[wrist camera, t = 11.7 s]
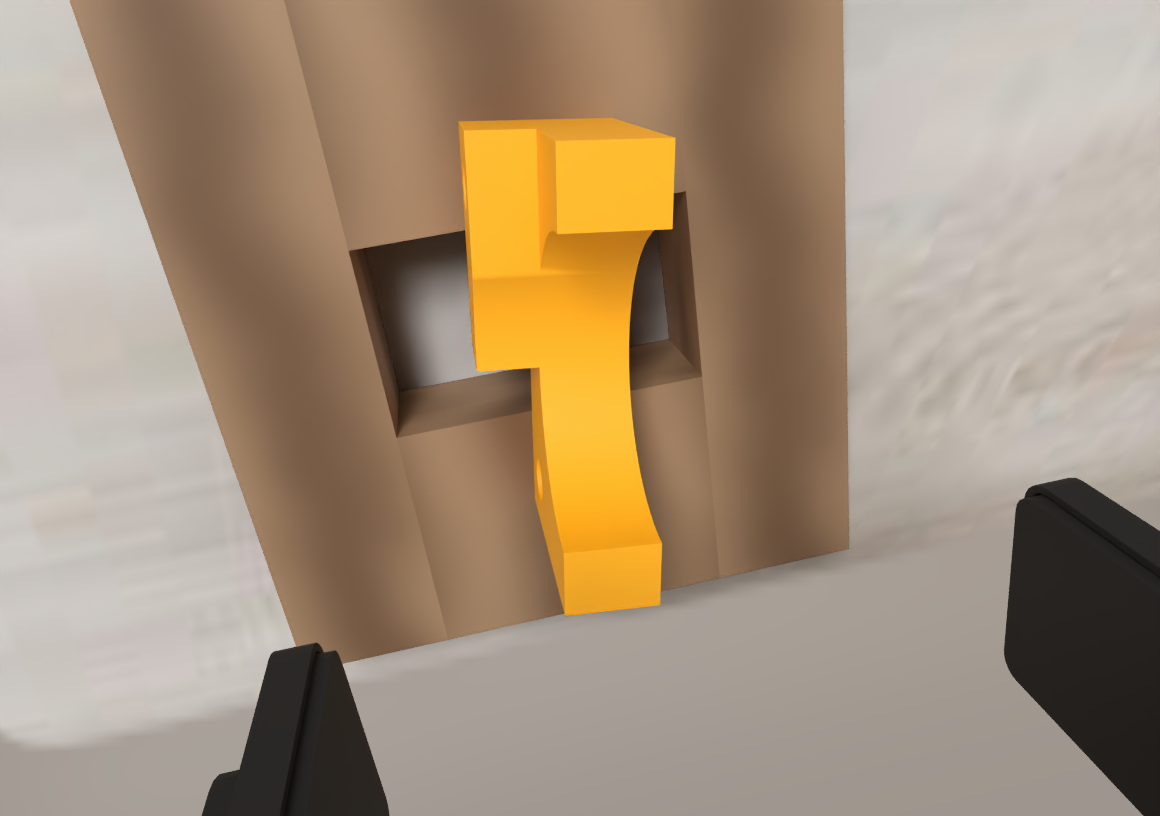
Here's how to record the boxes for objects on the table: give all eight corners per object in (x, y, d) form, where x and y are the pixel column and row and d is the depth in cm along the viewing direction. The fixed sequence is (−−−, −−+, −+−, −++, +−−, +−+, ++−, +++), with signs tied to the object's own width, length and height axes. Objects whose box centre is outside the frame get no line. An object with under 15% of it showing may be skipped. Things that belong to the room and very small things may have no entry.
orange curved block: (458, 121, 23) (470, 143, 17) (612, 117, 24) (675, 137, 18) (482, 503, 28) (498, 623, 22) (610, 492, 28) (660, 605, 22)
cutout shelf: (781, -118, 26) (841, -146, 22) (804, 497, 35) (848, 548, 31) (111, -24, 24) (55, -39, 20) (318, 603, 33) (305, 671, 29)
